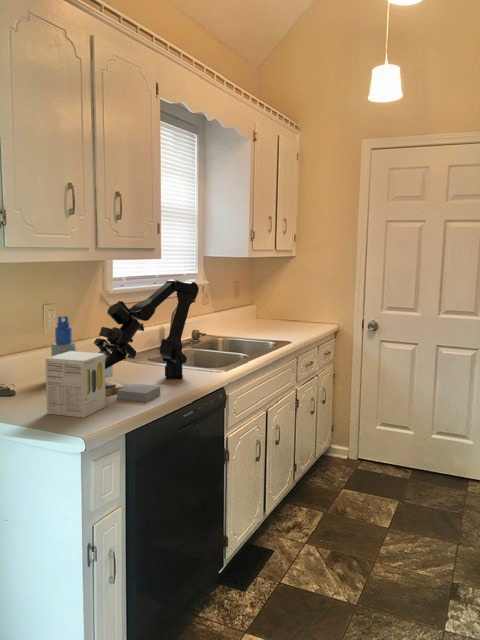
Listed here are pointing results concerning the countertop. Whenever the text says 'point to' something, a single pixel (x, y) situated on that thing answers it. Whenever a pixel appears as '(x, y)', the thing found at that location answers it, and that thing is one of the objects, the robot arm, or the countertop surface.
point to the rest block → (138, 392)
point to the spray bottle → (62, 337)
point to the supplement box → (75, 383)
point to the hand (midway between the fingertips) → (101, 367)
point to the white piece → (109, 370)
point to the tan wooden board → (113, 387)
